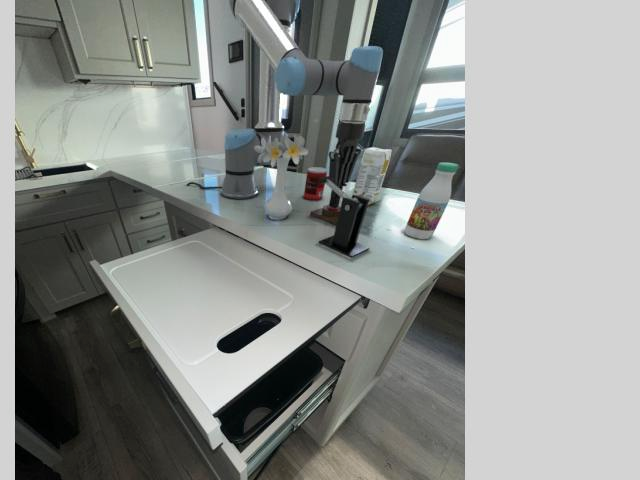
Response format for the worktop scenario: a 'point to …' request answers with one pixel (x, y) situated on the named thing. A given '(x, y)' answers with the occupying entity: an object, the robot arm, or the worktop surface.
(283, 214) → the flower vase
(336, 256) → the worktop surface
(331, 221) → the control block
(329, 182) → the lever
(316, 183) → the canned food
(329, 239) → the bracket
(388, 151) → the juice carton
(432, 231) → the milk bottle
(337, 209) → the button
